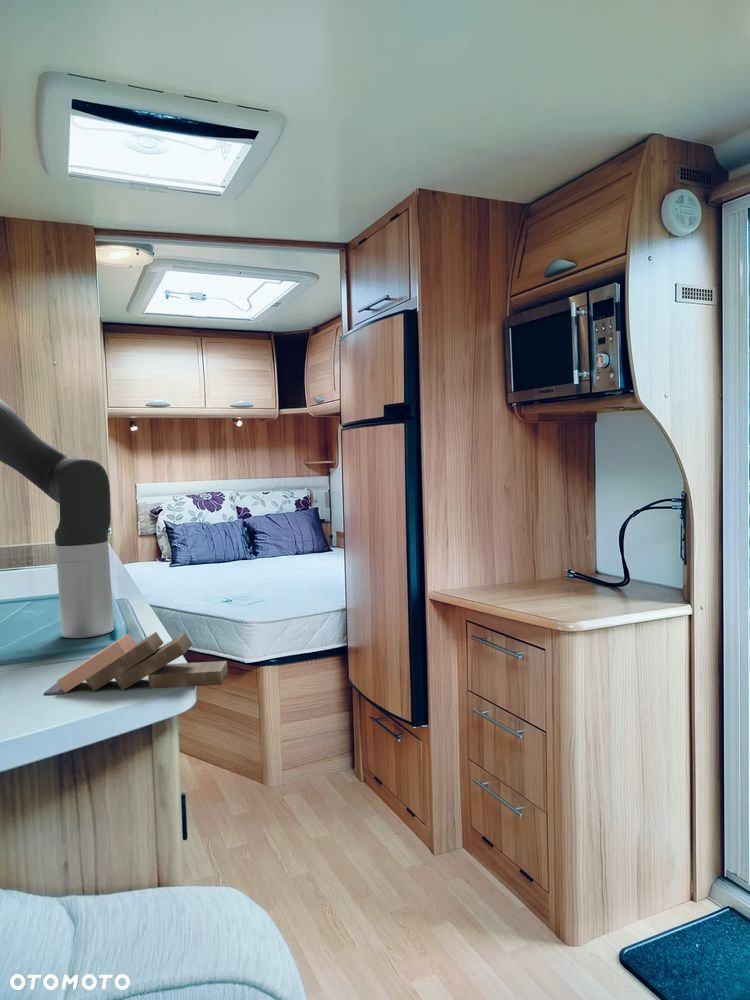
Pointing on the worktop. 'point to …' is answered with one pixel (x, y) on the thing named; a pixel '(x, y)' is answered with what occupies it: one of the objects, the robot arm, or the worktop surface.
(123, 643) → the salmon pink domino
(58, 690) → the pad
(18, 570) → the worktop surface
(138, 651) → the walnut domino
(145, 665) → the walnut domino
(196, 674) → the walnut domino
